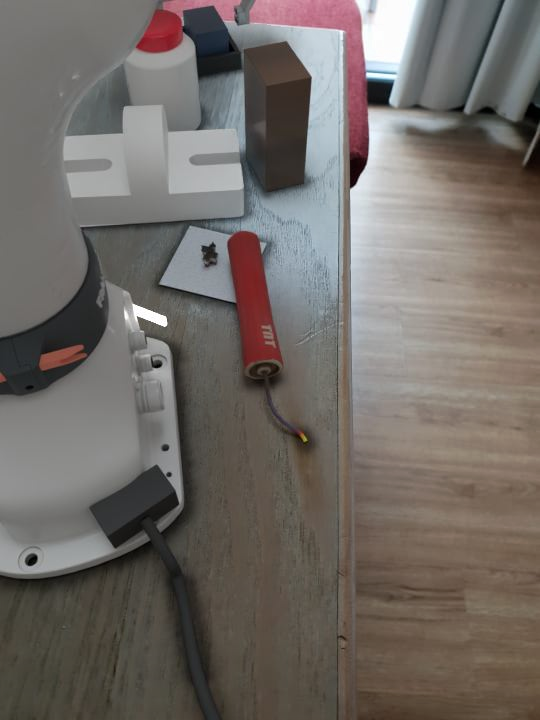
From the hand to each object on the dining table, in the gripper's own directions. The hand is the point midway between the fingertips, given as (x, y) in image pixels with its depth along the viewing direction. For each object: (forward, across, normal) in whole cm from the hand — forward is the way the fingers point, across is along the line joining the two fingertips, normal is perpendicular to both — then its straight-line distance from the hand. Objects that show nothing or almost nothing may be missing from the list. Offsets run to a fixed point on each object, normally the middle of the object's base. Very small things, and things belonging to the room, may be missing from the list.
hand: (205, 29), depth 75 cm
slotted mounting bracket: (+4, -13, -23) cm, 26 cm away
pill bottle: (+4, -8, -11) cm, 14 cm away
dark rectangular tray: (+3, 0, 0) cm, 3 cm away
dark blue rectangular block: (+3, 0, 0) cm, 3 cm away
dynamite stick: (+1, -6, -35) cm, 36 cm away
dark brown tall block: (+3, 0, -24) cm, 24 cm away
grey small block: (+3, -10, -35) cm, 36 cm away
